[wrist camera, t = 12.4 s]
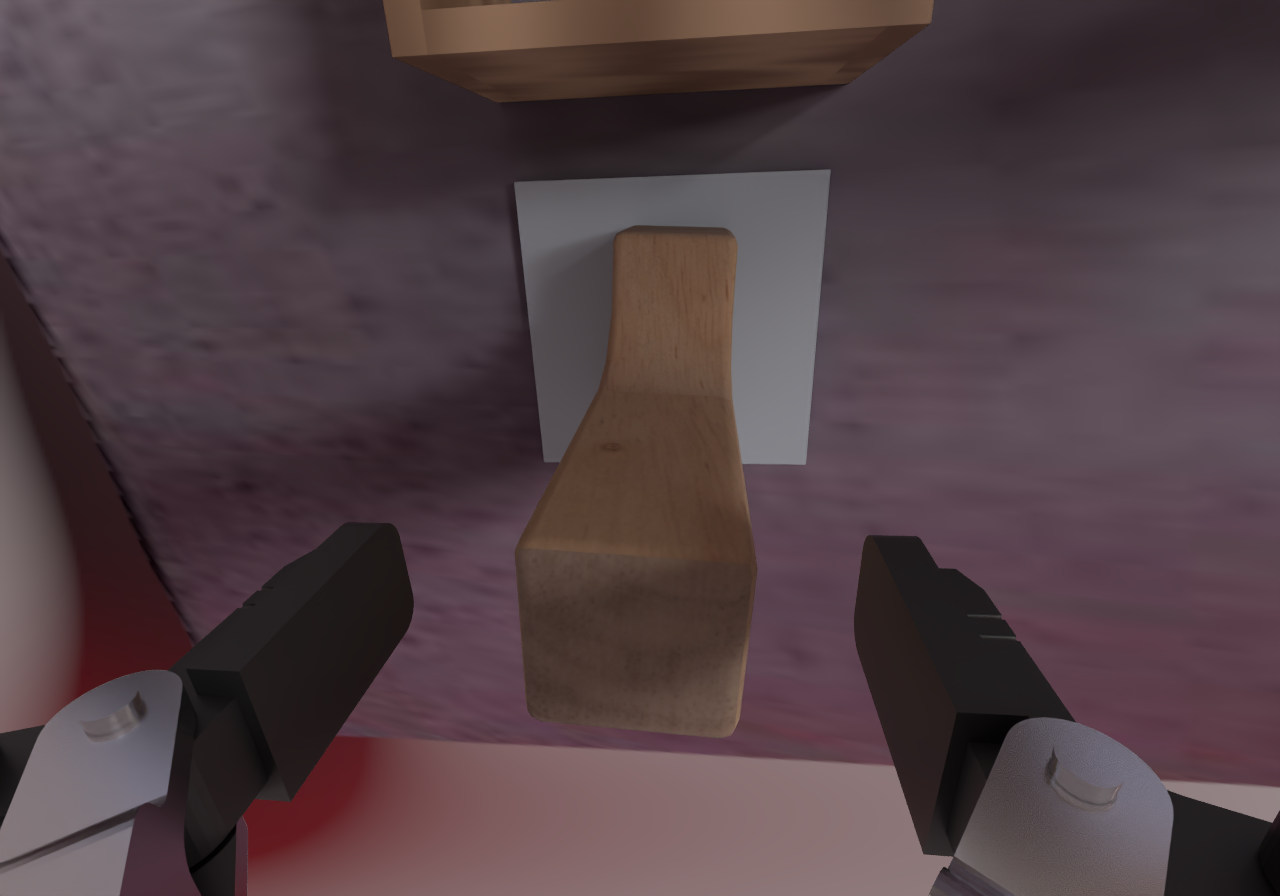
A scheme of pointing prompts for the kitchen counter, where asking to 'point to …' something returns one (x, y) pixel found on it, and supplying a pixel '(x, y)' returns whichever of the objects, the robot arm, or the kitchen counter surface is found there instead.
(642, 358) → the wooden block
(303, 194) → the kitchen counter surface
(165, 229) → the kitchen counter surface
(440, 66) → the walnut sleeve
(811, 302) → the grey mat
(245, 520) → the kitchen counter surface
